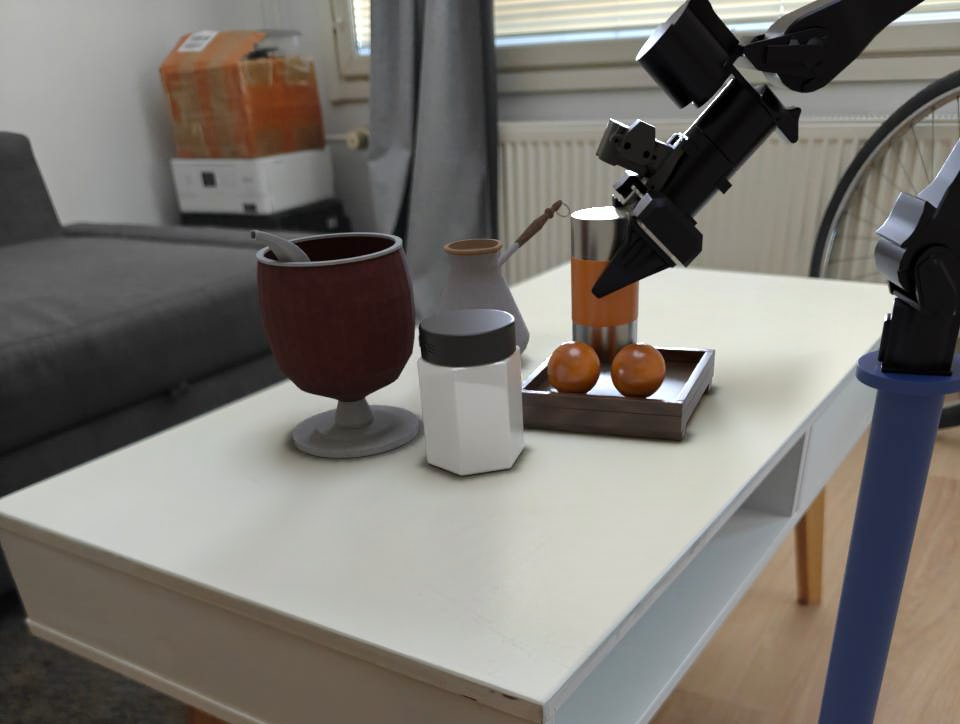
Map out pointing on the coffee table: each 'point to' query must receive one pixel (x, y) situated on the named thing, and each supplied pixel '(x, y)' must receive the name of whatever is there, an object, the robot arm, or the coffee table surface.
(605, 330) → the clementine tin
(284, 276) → the mate gourd
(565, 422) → the fruit tray
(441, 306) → the coffee pot
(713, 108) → the robot arm
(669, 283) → the coffee table surface
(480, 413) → the jar
